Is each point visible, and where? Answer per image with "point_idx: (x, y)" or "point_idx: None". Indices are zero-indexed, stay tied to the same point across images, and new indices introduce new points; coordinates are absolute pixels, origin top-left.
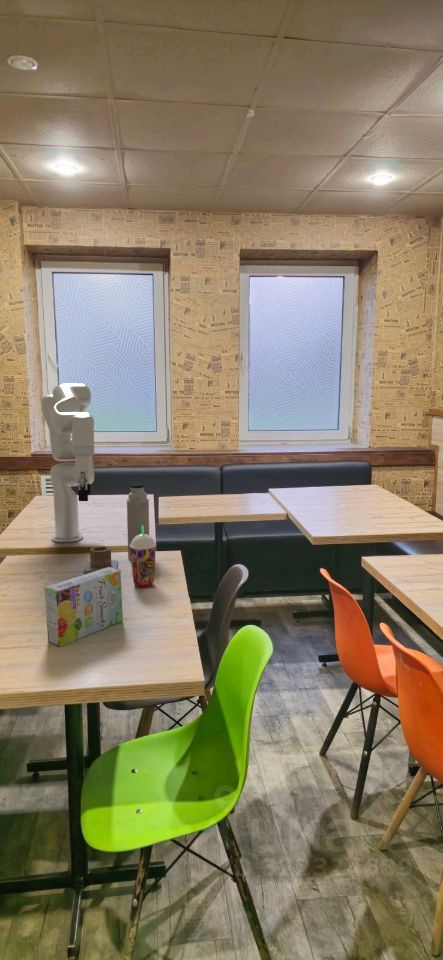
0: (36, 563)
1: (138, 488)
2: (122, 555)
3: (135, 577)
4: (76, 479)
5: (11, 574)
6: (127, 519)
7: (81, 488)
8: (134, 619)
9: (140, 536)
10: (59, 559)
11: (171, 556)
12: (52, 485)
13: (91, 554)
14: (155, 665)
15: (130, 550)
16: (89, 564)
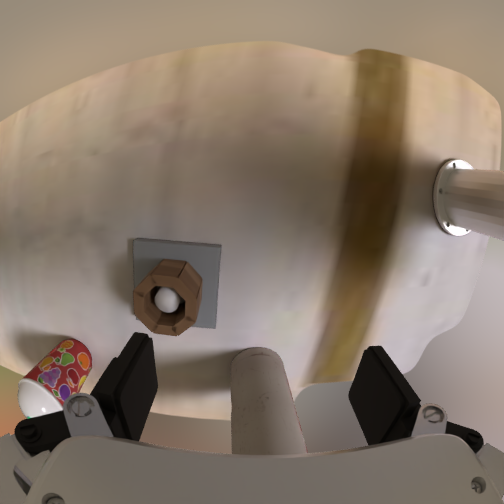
0: (268, 103)
1: None
2: (289, 334)
3: (54, 348)
4: (38, 475)
5: (183, 55)
6: (264, 425)
7: (56, 421)
8: None
9: (22, 410)
10: (294, 165)
11: None
12: None
13: (149, 274)
14: None
15: (242, 367)
16: (185, 255)
